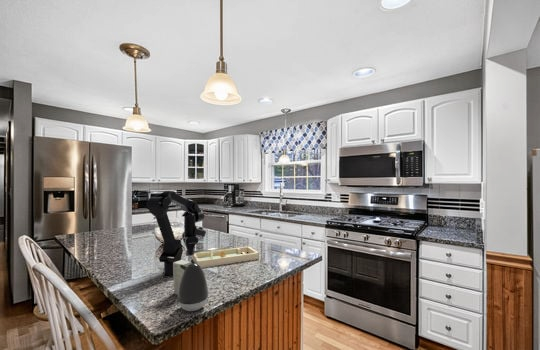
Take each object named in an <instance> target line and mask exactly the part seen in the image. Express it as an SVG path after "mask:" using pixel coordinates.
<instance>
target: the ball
mask: <svg viewBox="0 0 540 350" xmlns="http://www.w3.org/2000/svg"><path fill="white" fill-rule="evenodd" d="M225 256H226V253H225V252H224V251H222V252H220V257H225Z"/></svg>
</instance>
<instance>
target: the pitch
mask: <svg viewBox="0 0 540 350" xmlns="http://www.w3.org/2000/svg"><path fill="white" fill-rule="evenodd" d="M222 251H224V252H225V253H226V256H225V257H220V252H222ZM247 252H248V253H247ZM240 253H242V254H240ZM256 259H257V260H260V252H258V251H257V250H256V249H254V248H252V247H251V246H242V247H234V248H229V249H225V250H217V251H213V259H210V251H209V252H201V253H194V255H192V260H193V263H196V264H198V265H200V267H201V268H202V269H203V268H204V269H205V268H209V267H216V266H222V265H228V264H237V263H243V262H248V261H249V260H250V261H255V260H256ZM242 261H243V262H242ZM250 261H249V262H250ZM236 262H237V263H236Z"/></svg>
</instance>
